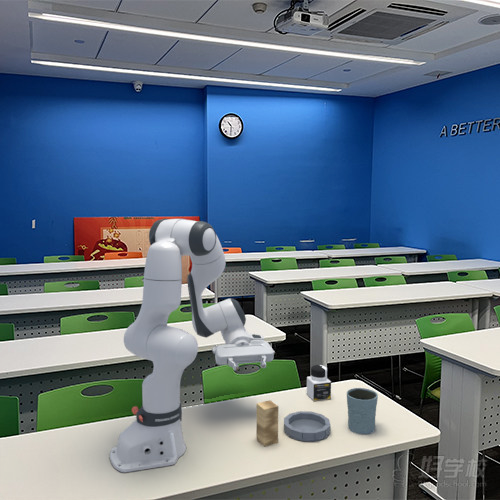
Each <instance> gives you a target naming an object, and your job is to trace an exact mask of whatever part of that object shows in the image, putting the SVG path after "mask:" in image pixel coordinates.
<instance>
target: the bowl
mask: <svg viewBox="0 0 500 500" xmlns="http://www.w3.org/2000/svg"><path fill="white" fill-rule="evenodd" d="M283 431H284V433H285V435H286V436H288V437H289V438H290V439H293V440H295V441H298V442H304V443H305V442H307V443H311V442H312V443H314V442H319V441H322V440H325V439H327V438H328V437H329V436H330V433H331V421H330V419H329V418H328V417H326V416H325V415H324V414H322V413H319V412H314V411H307V410H306V411H305V410H304V411H303V410H302V411H301V410H300V411H296V412H295V411H294V412H292V413H289V414H287V415H286V416H285V417H284V418H283Z"/></svg>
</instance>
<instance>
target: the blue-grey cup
mask: <svg viewBox="0 0 500 500" xmlns="http://www.w3.org/2000/svg"><path fill="white" fill-rule="evenodd" d="M378 395H379V394H378V393H377V392H376V391H375V390H372V389H369V388H362V387H354V388H351V389H350V388H349V389H347V391H346V405H347V406H346V407H347V416H348V417H347V418H348V419H347V423H348V424H347V426H348V427H347V428H348V430H349V431H351V432H353V433H354V434H357V435H370V434H373V433H374V431H375V429H376V416H377V414H376V413H377V404H378V399H379V396H378Z"/></svg>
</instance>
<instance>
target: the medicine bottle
mask: <svg viewBox="0 0 500 500" xmlns="http://www.w3.org/2000/svg"><path fill="white" fill-rule="evenodd" d="M306 395H307V396H308V397H309V398H310V399H311V400H312V401H313V402H319V401H320V402H321V401H328V400H332V399H331V398H332V397H331V396H332V381H331V380H330V379H329V378H328V367H327V366H325V365H322V364H314V365H312V366H311V367H310V376H307V377H306Z"/></svg>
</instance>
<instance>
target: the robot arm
mask: <svg viewBox="0 0 500 500" xmlns="http://www.w3.org/2000/svg"><path fill="white" fill-rule="evenodd" d="M148 241H149V245H150V246H149V248H148V250H147V254H146V258H145V263H144V272H143V273H144V274H143V287H142V288H143V290H142V299H141V300H142V302H141V307H140V310H139V313H138V315H137V317H136V318H135V320H134V322H132V323H131V324H130V325H129V326H128V327H127V328H126V330H125V332H124V335H123V344H124V348H125V349H126V350H127V351H128V352H130V354H133V355H135V356H136V357H138V358H141V359H143V360H148V361H151V362H152V363H153V370H152V373H150V374H148V375H147V376H146V377H145V378H144V379H143V381H142V384H141V389H142V390H141V391H142V396H141V397H142V405H141V407H140V408H139V407H138V406H137V405H135V406H132V408H131V412H132V413H133V415H135V416H136V417H135V420H134V421H133V422H132V423H131V424H129V425H128V426H127V427H126V428H125V429H123V431H121V433H120V434H119V437H118V440H117V445H116V446H114V447H112V448H111V449H110V452H109V461H110V464H111V465H112V466H113V467H114V469H115V470H116V471H119V472H121V473H129V472H136V471H137V472H138V471H143V470H148V469H155V468H161V467H168V466H173V465H175V464H176V463H177V461H178V459H179V458H180V457H182V455H184V453H186V451H187V445H186V442H185V438H184V434H183V430H182V429H183V428H182V417H183V409H182V403H181V399H180V398H181V379H182V375H183V373H184V371H185V369H186V368H187V367H188V366H189V365H192V363H193V362H194V361H195V359H196V357H197V355H198V351H199V344H198V340H197V338H196V336H195V335H193V334H192V333H190V332H189V331H186V330H184V329H182V328H179V327H175V326H169V325H168V320H169V317H170V315H171V314H172V312H174V311H176V310H177V309H179V307H180V306H181V301H182V287H183V286H182V285H183V282H182V281H183V263H182V258H183V256H188V257H190V261H191V263H192V264H191V269H190V270H191V271H190V273H188V275H187V278H186V279H187V281H186V282H187V290H188V296H189V303H190V309H191V324H192V328H193V330H194V332H195V333H196V335H197V336H200V337H203V338H209V337H211V336H213V335H214V334H217V333H218V332H220V335H221V336H222V339H223V340H224V342H225V344H216V345H215V346H212V347H211V351H212V353H213V354H214V355H215V356H214V357H215V358H214V359H215V363H216V364H217V365H218V366H229V367H230V368H232V370H233V371H239V368H240V365H241V364H254V363H260V365H259V366H260V368H261V369H266V368H267V363H269V362H272V361H273V360H274V355H275V351H274V349H273V348H272V345H270V343H269V342H268V341H266V340H265V337H264V335H261V334H255V333H250V332H247V331H246V327H245V325H246V320H247V319H246V315H245V311H244V310H243V309H242V307H241V304H240V302H239V301H238V300H236V299H234V298H231V297H230V298H227V299H224V300H222V301H219V302H217V303H214V304H212V305H210V306H207V307H204V306H203V297H202V295H203V293H204V291H205V290H206V289H207V288H208V286H209V285H211V284H213V283H214V281H216V280H217V279H219V278H220V276H222V274H223V272H224V271H225V268H226V263H227V262H226V256H225V253H224V250H223V247H222V244H221V242H220V239H219V237H218V235H217V233H216V230H215V228H214V227H213V226H212V225H211V224H210V223H208V222H206V221H202V220H199V221H196V220H191V219H185V218H170V219H169V218H162V219H158V220H156V221H154V222H153V224H152V226H150V229H149V232H148Z"/></svg>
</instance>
